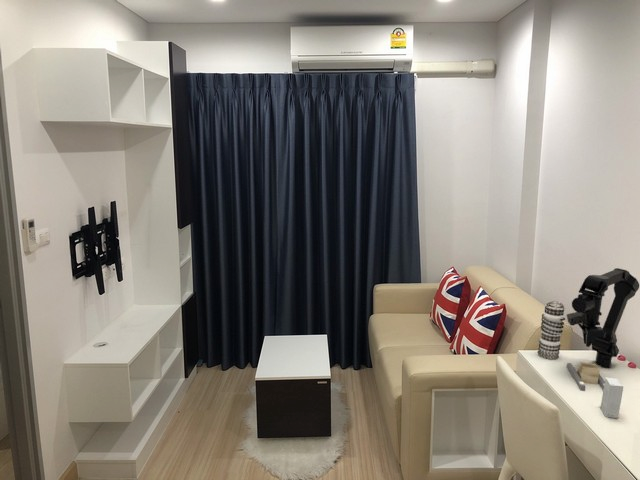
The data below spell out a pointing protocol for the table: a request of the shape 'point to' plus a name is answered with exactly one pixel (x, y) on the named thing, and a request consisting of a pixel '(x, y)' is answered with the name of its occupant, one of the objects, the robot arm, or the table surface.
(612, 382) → the skincare box
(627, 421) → the table surface
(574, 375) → the chute
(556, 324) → the banded tower model
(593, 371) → the block
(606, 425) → the table surface
